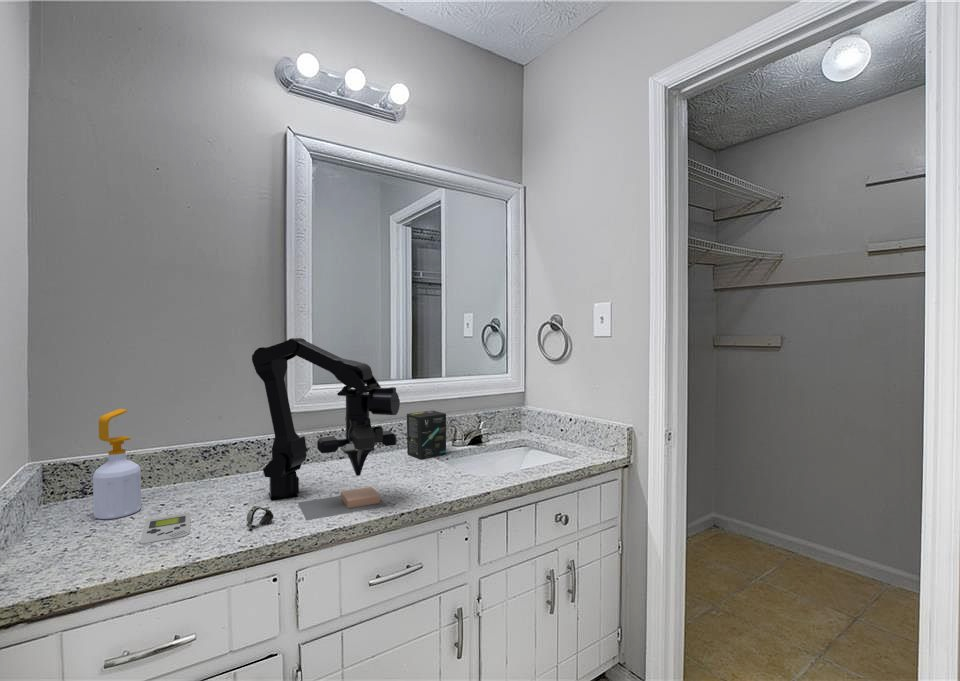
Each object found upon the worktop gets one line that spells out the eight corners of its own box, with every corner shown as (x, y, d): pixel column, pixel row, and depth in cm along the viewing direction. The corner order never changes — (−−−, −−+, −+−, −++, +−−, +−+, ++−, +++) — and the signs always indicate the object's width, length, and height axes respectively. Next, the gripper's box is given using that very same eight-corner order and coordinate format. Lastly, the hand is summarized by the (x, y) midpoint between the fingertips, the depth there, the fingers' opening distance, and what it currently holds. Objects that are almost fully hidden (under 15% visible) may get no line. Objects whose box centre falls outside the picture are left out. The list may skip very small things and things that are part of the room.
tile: (348, 500, 118) (380, 495, 121) (340, 491, 125) (371, 486, 128) (348, 508, 118) (380, 503, 121) (340, 498, 125) (371, 493, 129)
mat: (306, 522, 111) (306, 520, 111) (297, 504, 122) (297, 502, 122) (387, 507, 120) (387, 505, 120) (372, 491, 131) (372, 490, 131)
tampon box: (432, 449, 178) (431, 409, 177) (447, 454, 171) (447, 413, 170) (406, 454, 171) (405, 413, 170) (420, 460, 164) (420, 416, 163)
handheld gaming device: (139, 543, 99) (145, 518, 112) (139, 546, 99) (145, 521, 112) (189, 534, 103) (190, 511, 116) (189, 537, 103) (190, 514, 116)
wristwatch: (262, 535, 107) (276, 513, 110) (244, 524, 104) (258, 502, 107) (256, 532, 109) (270, 511, 112) (238, 522, 106) (252, 501, 109)
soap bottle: (148, 510, 118) (147, 409, 117) (104, 522, 110) (102, 414, 110) (130, 503, 123) (128, 406, 122) (86, 515, 115) (84, 411, 114)
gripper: (325, 422, 111) (326, 490, 111) (403, 415, 120) (404, 478, 120) (316, 414, 121) (317, 477, 121) (389, 409, 130) (389, 467, 130)
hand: (357, 475), depth 123 cm, fingers closed
